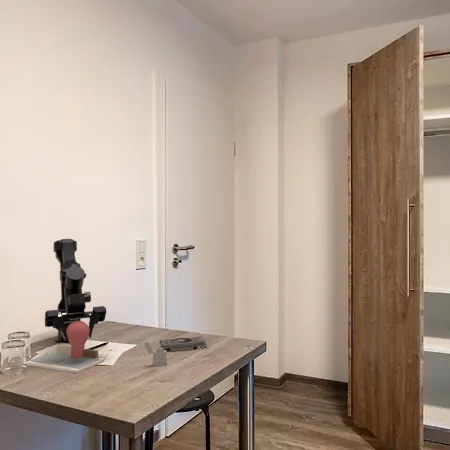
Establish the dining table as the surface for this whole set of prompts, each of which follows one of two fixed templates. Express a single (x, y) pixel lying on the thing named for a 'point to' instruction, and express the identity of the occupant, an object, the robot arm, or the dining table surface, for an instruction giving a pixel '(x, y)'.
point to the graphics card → (185, 343)
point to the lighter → (156, 355)
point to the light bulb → (77, 337)
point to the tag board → (66, 360)
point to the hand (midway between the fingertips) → (78, 338)
